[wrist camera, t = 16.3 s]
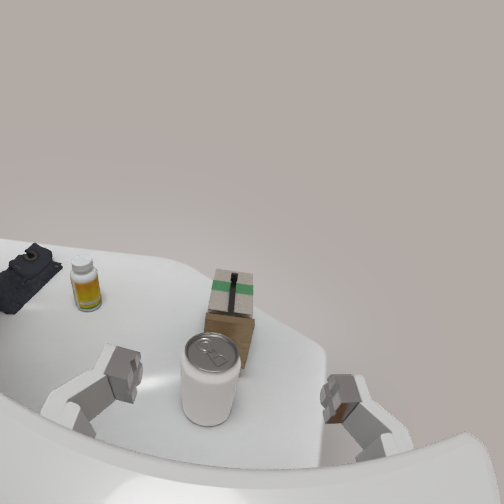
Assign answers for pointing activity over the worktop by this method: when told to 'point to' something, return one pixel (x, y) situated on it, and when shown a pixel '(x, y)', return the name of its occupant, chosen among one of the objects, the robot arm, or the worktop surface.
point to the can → (209, 378)
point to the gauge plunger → (232, 325)
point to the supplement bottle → (85, 283)
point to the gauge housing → (222, 291)
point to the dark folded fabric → (26, 277)
